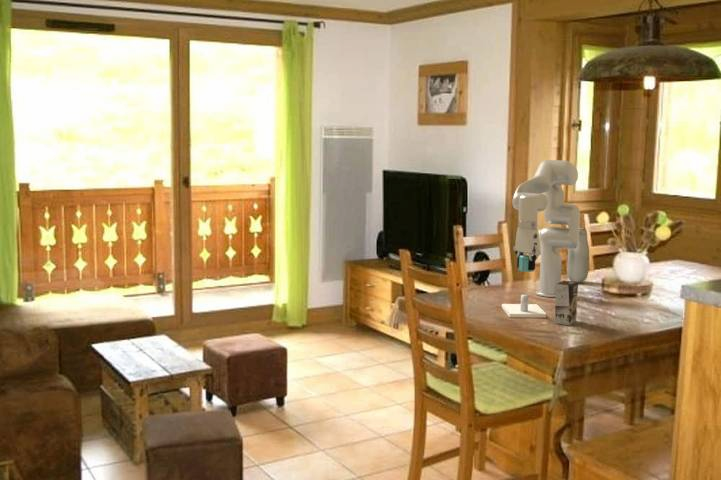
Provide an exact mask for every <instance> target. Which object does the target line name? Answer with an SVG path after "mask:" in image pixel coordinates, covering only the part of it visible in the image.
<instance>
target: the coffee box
mask: <svg viewBox="0 0 721 480" xmlns="http://www.w3.org/2000/svg"><path fill="white" fill-rule="evenodd" d="M578 290H579V283H578V282H574V281H571V280H562V281H561V282H559V283H557V286H556V297H555V304H554V305H555V306H554V307H555V309H554V324H559V325H566V326H570V325H572V324H573V323H575V322H576V321H577V313H578V310H577V308H578V295H579V294H578V293H579V291H578Z"/></svg>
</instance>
